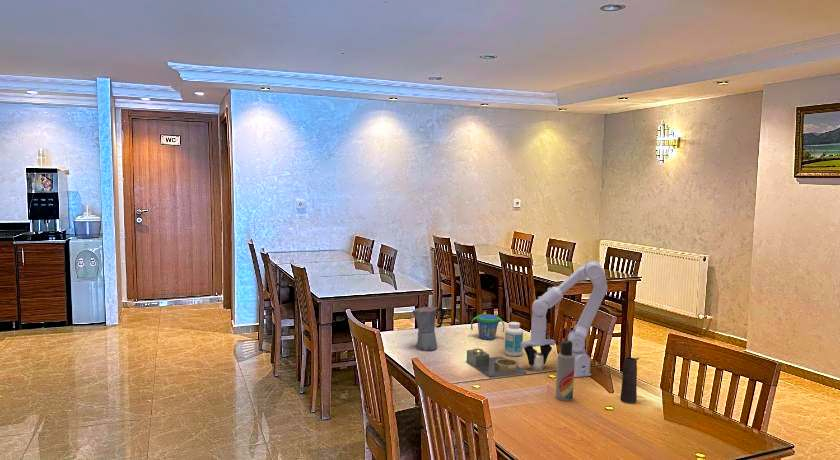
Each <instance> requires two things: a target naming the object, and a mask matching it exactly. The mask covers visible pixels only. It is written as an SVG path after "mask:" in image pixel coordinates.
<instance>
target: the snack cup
mask: <svg viewBox="0 0 840 460" xmlns="http://www.w3.org/2000/svg"><path fill="white" fill-rule="evenodd" d="M474 320H477V328H478V329H477V330H478V337H479V338H480V339H482V340H490V341H492V340H494V339H495V338H496V336H497V331H498V326H499V323H500V322H501V323H502V325H503V327H502V328H503V329H502V333H505V332H504V331H505V323H504V321H503V319H502V318H500V317H499V316H498V315H495V314H488V313H487V314H486V313H483V314H478V315H476V316H475V317H473V318H472V320H471V322H470V330H471V331H473V321H474Z"/></svg>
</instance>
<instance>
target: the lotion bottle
mask: <svg viewBox="0 0 840 460" xmlns="http://www.w3.org/2000/svg"><path fill="white" fill-rule="evenodd" d="M572 346H573V343H572V341H568V339H566V340H562V341H561V342H560V352H559V353H557V361H556V362H557V363H556V385H555V398H556V399H557V400H560V401H562V402H564V401H565V402H569V401H572V400H573V399H574V397H573V396H574V380H575V377H574V364H575V356H574V355H573V354H572Z"/></svg>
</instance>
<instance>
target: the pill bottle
mask: <svg viewBox="0 0 840 460" xmlns="http://www.w3.org/2000/svg"><path fill="white" fill-rule="evenodd" d="M520 326H521V322H517V321H510V322H508V327H506V328H505V330H504V331H505V332H504V333H505V335H504V353H505V355H507V356H509V357H519V356H522V354H523V350H524V348H522V347H521V342H524V340H523V339H524V338H523V337H524V331H523V329H522V328H521V327H520Z"/></svg>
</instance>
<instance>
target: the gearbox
mask: <svg viewBox="0 0 840 460" xmlns="http://www.w3.org/2000/svg"><path fill="white" fill-rule="evenodd" d="M466 363H467V364H469V365H471V366H472V367H474V368H475V369H476V370H478V371H479V372H481V373H482V374H483V375H484V376H487V377H488V378H491V379H492V378H497V377H498V378H499V377H500V378H501V377H511V376H517V375H518V376H519V375H526V374H527V373H528V372H527V370H525V369H523V368H522V367H520V366H519V362H518V361H516V360H514V359H509V358H505V357H503V356H493V357H490V354H489V353H488V352H486V351H484V349H482V348H473V349H468V350H466Z"/></svg>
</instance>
